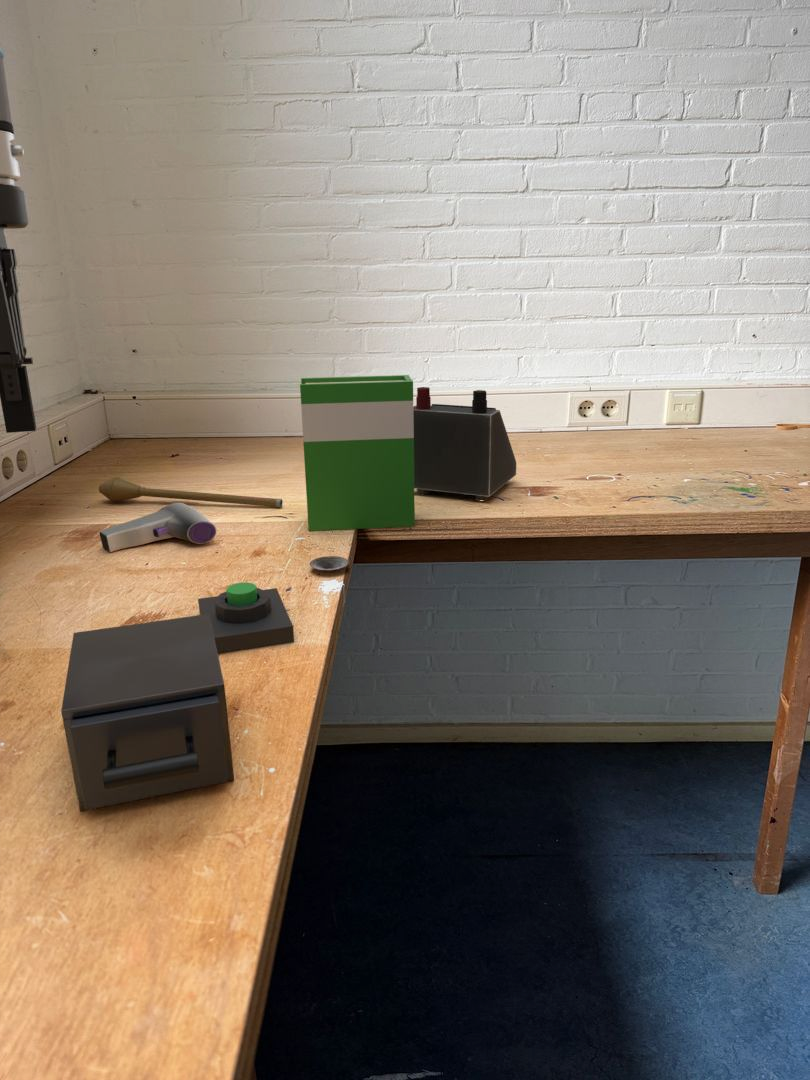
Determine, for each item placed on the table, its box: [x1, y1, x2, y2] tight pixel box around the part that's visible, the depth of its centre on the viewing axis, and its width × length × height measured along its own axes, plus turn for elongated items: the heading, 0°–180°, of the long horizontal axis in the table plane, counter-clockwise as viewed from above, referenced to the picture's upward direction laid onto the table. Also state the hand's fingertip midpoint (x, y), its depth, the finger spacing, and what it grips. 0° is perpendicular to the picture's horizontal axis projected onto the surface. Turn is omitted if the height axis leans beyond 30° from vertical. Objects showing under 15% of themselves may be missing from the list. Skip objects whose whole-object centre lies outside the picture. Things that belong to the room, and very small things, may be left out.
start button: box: [225, 581, 258, 606], centre depth 96 cm, size 4×4×2 cm
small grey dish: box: [309, 555, 350, 573], centre depth 115 cm, size 6×6×1 cm
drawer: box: [70, 695, 228, 811], centre depth 69 cm, size 18×11×8 cm, turn 18°
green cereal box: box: [299, 374, 416, 532], centre depth 132 cm, size 18×7×24 cm, turn 95°
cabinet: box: [60, 614, 235, 812], centre depth 72 cm, size 15×13×10 cm
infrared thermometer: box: [99, 502, 217, 553], centre depth 126 cm, size 5×12×15 cm
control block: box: [197, 587, 295, 655], centre depth 97 cm, size 12×10×4 cm
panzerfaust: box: [98, 476, 283, 509], centre depth 147 cm, size 5×35×5 cm
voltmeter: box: [413, 386, 517, 501], centre depth 151 cm, size 16×16×20 cm
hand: (21, 430), depth 83 cm, fingers closed
